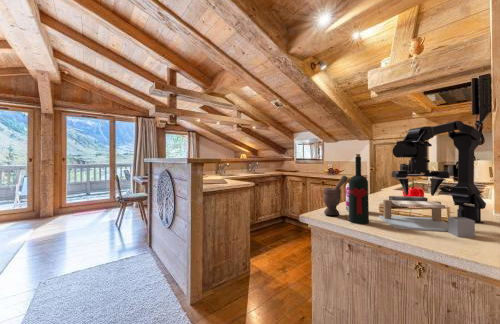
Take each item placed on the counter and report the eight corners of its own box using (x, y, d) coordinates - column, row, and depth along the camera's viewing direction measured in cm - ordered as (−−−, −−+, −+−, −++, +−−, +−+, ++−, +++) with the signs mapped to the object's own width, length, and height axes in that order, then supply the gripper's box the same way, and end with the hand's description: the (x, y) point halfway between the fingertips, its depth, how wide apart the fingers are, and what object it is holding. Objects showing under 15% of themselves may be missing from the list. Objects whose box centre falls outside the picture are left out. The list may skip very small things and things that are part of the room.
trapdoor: (425, 204, 101) (425, 196, 101) (445, 211, 87) (445, 202, 87) (386, 203, 105) (386, 195, 105) (399, 209, 91) (399, 200, 91)
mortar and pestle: (346, 213, 114) (346, 174, 114) (348, 217, 106) (348, 175, 106) (323, 211, 118) (322, 174, 118) (323, 215, 109) (323, 175, 110)
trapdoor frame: (434, 219, 100) (434, 199, 100) (465, 232, 82) (464, 208, 82) (379, 217, 105) (378, 198, 105) (395, 228, 87) (395, 205, 87)
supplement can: (355, 213, 113) (355, 184, 113) (342, 210, 120) (342, 183, 120) (366, 212, 116) (366, 183, 116) (353, 209, 123) (353, 182, 124)
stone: (464, 233, 81) (464, 217, 81) (474, 238, 76) (474, 220, 76) (448, 232, 82) (448, 216, 82) (457, 237, 77) (457, 219, 77)
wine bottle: (349, 224, 93) (348, 153, 93) (348, 218, 102) (348, 154, 103) (370, 226, 90) (369, 153, 90) (367, 220, 99) (367, 154, 100)
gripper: (433, 157, 97) (434, 193, 97) (386, 158, 101) (386, 192, 101) (450, 157, 86) (450, 197, 86) (396, 157, 90) (397, 195, 90)
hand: (419, 195), depth 91 cm, fingers open, 9 cm apart
